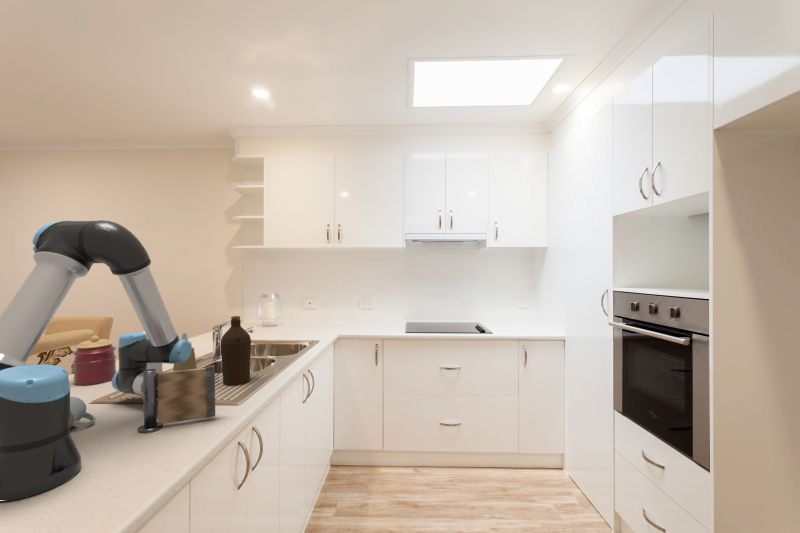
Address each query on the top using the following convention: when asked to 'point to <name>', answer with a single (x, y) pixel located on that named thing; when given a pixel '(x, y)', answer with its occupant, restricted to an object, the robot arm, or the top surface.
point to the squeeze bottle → (190, 362)
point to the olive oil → (236, 354)
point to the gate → (186, 395)
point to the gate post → (149, 403)
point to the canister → (94, 361)
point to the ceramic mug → (79, 413)
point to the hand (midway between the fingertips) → (208, 394)
